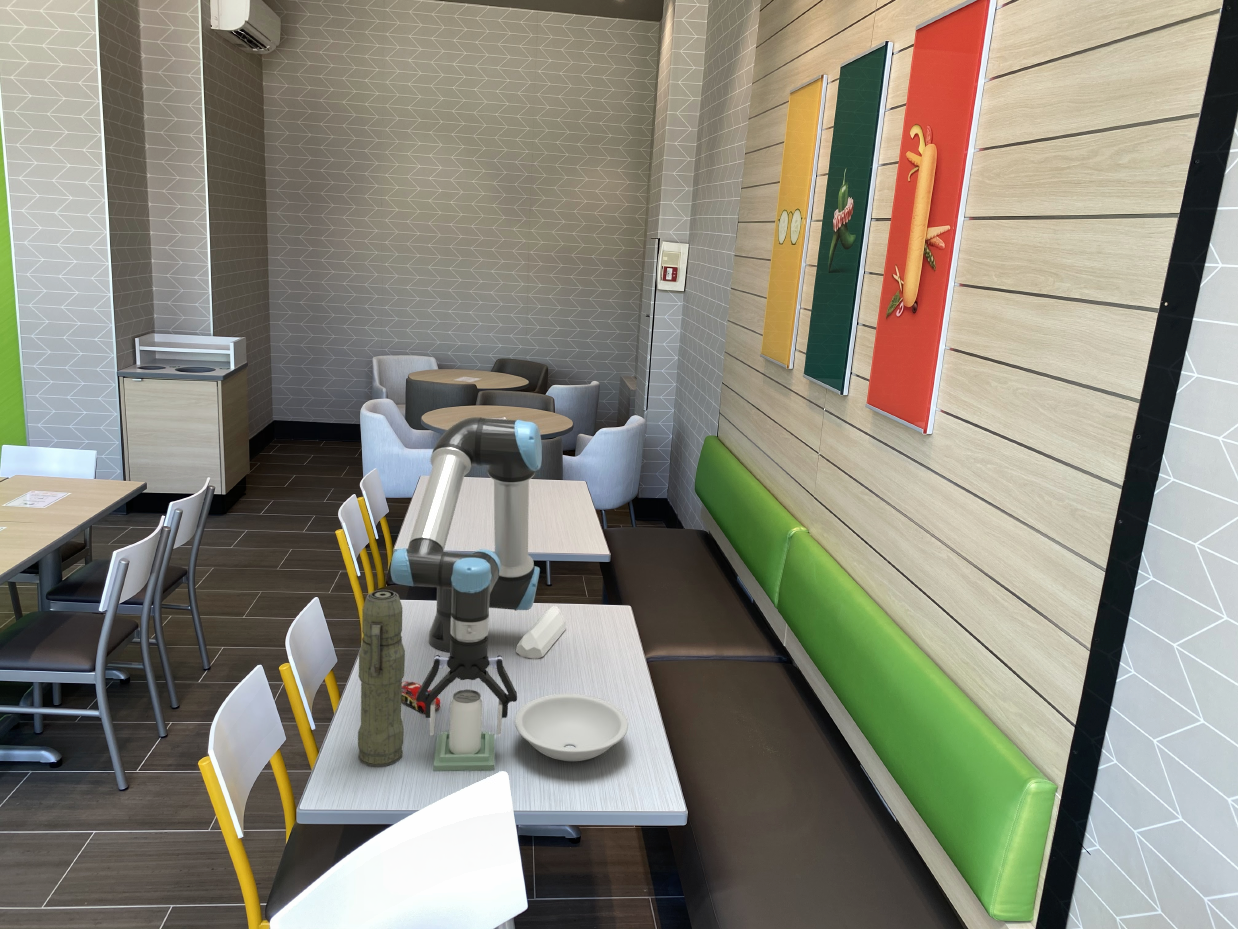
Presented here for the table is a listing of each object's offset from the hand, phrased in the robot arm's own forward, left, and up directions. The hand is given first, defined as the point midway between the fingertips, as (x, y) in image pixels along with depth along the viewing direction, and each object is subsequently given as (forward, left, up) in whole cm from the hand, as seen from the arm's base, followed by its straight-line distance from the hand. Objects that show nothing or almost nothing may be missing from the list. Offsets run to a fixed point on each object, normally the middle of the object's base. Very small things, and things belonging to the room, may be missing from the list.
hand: (465, 731), depth 180 cm
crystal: (-56, +18, -6) cm, 59 cm away
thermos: (0, -17, -5) cm, 18 cm away
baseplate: (0, 0, -5) cm, 5 cm away
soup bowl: (-2, +22, -5) cm, 23 cm away
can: (0, 0, -4) cm, 4 cm away
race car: (-22, -12, -6) cm, 26 cm away
